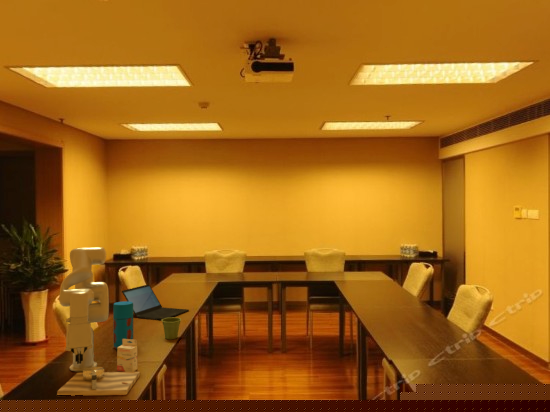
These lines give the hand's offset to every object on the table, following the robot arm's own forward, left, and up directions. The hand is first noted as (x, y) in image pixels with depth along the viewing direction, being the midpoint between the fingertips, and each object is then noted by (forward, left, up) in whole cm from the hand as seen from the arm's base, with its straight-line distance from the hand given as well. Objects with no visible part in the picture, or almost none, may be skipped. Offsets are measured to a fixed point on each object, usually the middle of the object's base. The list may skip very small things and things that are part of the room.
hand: (79, 362), depth 200 cm
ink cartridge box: (-26, +13, -13) cm, 32 cm away
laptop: (-148, +1, -13) cm, 148 cm away
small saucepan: (-6, +4, -10) cm, 13 cm away
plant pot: (-82, +25, -13) cm, 86 cm away
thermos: (-65, 0, -13) cm, 66 cm away
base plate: (-7, +7, -13) cm, 16 cm away
